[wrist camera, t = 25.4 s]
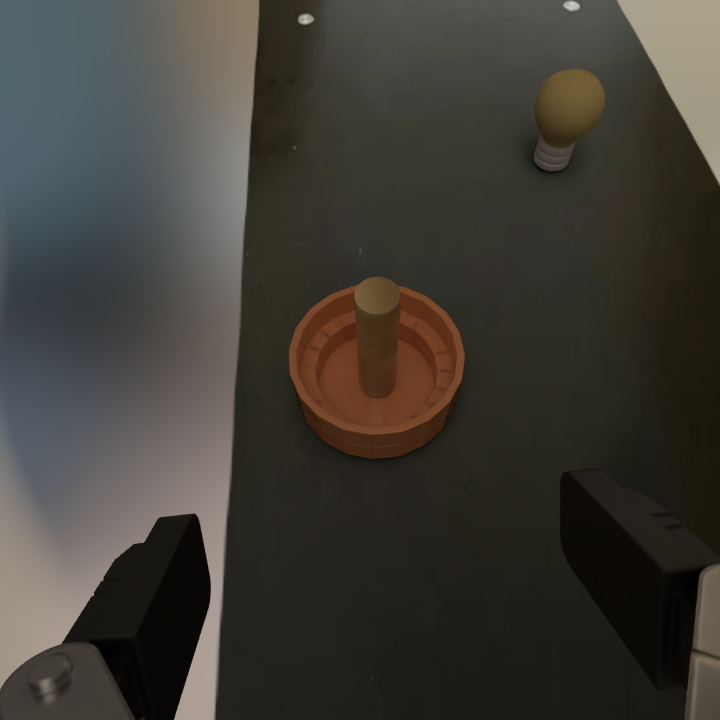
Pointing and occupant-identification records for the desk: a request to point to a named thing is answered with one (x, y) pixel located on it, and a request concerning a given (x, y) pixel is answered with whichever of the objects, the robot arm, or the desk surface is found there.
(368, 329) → the stick
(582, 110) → the light bulb
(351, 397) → the bowl
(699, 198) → the desk surface
